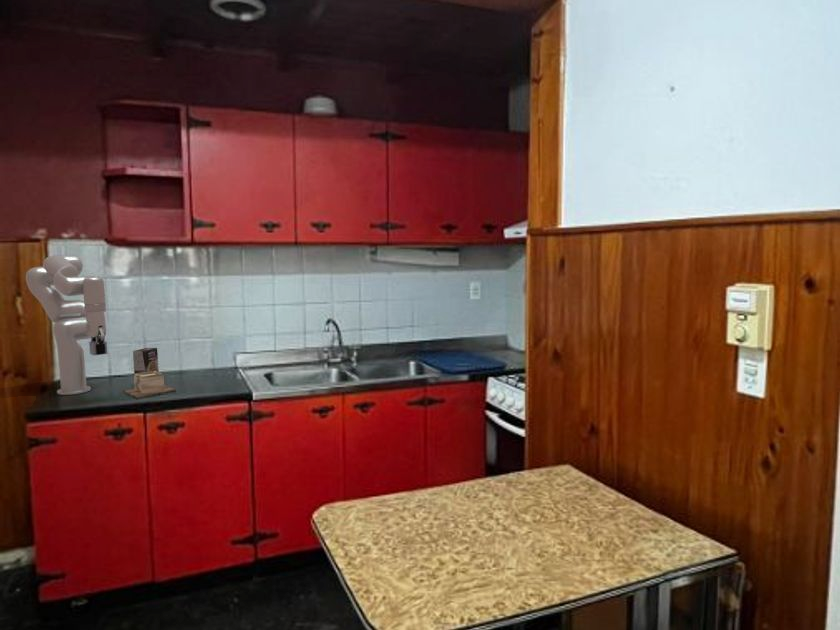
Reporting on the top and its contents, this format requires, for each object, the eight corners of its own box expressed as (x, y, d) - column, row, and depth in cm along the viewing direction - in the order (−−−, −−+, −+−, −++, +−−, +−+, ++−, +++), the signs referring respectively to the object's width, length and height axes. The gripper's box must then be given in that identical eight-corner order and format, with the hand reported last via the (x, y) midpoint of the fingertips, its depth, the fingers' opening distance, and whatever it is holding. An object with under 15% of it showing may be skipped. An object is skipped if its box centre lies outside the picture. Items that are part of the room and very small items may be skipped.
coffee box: (147, 387, 266) (144, 351, 264) (134, 386, 268) (131, 350, 266) (160, 382, 275) (157, 347, 273) (147, 382, 276) (145, 347, 275)
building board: (123, 392, 257) (121, 374, 256) (161, 386, 268) (160, 368, 267) (136, 399, 245) (135, 379, 244) (176, 391, 256) (174, 373, 255)
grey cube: (90, 354, 243) (89, 341, 243) (103, 352, 247) (102, 340, 246) (94, 355, 240) (93, 343, 239) (107, 353, 243) (106, 341, 243)
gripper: (78, 307, 245) (82, 351, 247) (91, 310, 232) (95, 357, 235) (98, 306, 250) (101, 349, 252) (112, 308, 238) (115, 354, 240)
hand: (98, 352), depth 243 cm, fingers closed on grey cube, 5 cm apart
